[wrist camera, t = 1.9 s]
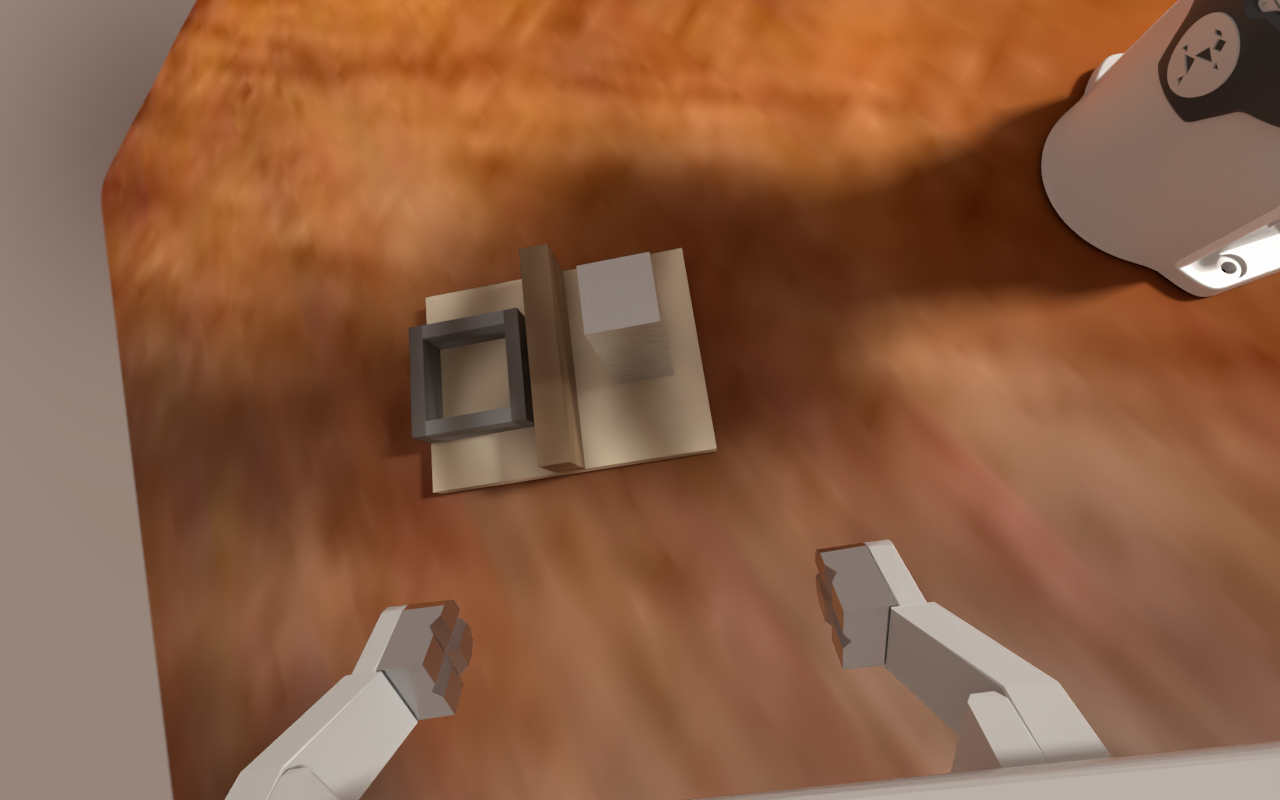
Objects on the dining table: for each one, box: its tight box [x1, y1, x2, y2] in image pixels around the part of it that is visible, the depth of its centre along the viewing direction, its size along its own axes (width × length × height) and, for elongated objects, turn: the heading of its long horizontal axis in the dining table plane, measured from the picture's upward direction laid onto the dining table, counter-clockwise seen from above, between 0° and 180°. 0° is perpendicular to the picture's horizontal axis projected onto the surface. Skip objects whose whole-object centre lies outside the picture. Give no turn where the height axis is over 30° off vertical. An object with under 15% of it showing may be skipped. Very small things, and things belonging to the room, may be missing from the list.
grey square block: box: [576, 252, 674, 385], centre depth 33 cm, size 4×4×10 cm
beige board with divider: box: [409, 244, 717, 494], centre depth 37 cm, size 20×15×6 cm
